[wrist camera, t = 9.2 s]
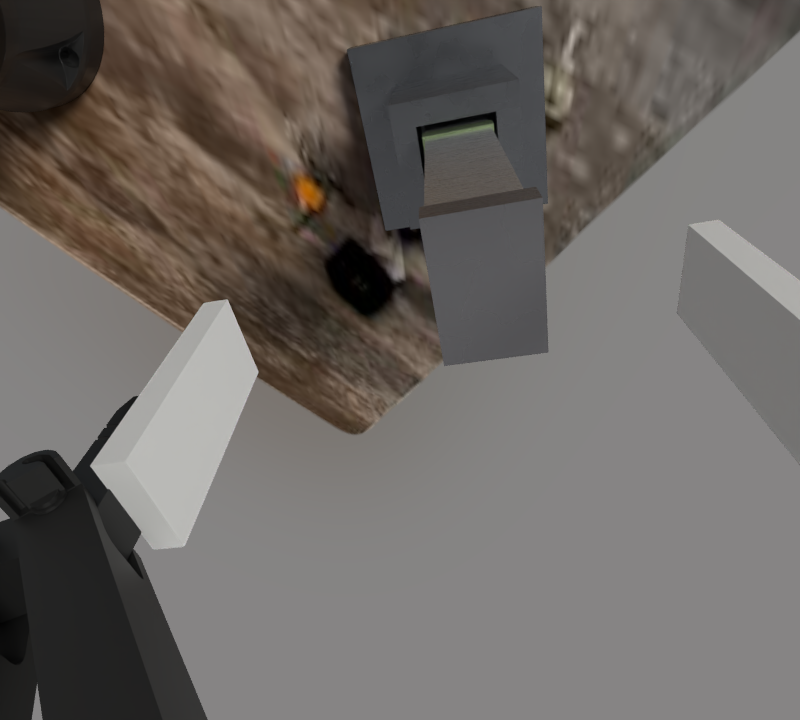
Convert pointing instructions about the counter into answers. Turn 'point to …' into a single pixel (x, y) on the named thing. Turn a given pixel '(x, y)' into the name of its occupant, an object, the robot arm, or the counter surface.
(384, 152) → the stand base
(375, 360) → the counter surface
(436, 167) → the grey rectangular bar
